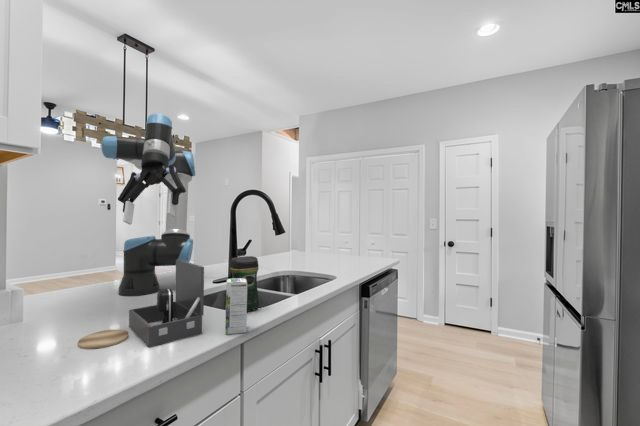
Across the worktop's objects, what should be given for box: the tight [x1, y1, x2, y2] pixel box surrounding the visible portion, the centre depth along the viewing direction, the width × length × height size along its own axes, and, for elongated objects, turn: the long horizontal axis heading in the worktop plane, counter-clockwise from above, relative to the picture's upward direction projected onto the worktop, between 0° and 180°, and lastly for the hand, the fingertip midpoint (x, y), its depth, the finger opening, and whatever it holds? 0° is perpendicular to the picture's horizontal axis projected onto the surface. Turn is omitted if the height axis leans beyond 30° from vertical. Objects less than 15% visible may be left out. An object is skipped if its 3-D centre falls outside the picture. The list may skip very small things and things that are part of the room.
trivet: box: [77, 329, 130, 350], centre depth 83 cm, size 11×11×1 cm
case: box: [128, 259, 205, 348], centre depth 91 cm, size 20×14×19 cm
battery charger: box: [156, 288, 174, 324], centre depth 91 cm, size 7×4×11 cm, turn 31°
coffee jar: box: [229, 255, 260, 312], centre depth 111 cm, size 10×8×19 cm
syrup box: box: [224, 278, 248, 336], centre depth 91 cm, size 6×6×14 cm
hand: (149, 219), depth 91 cm, fingers open, 13 cm apart
